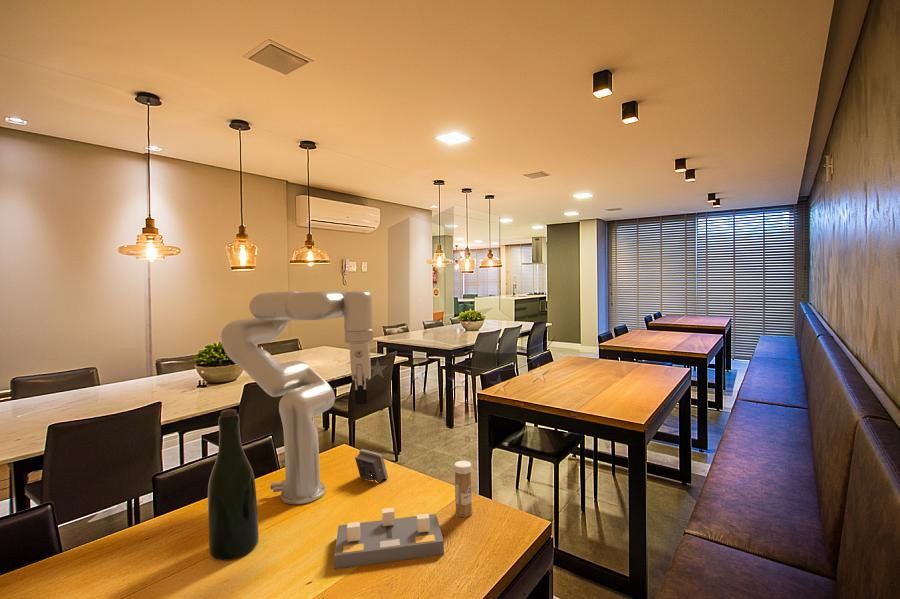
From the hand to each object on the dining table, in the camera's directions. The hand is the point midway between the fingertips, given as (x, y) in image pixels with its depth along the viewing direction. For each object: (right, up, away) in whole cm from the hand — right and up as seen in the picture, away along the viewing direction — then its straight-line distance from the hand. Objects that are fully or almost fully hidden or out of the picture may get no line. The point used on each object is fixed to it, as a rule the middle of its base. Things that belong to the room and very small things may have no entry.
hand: (361, 403), depth 118 cm
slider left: (+2, -26, -19) cm, 33 cm away
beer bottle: (-27, -31, -16) cm, 44 cm away
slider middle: (+9, -26, -13) cm, 31 cm away
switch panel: (+10, -30, -17) cm, 35 cm away
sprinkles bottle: (+28, -29, -3) cm, 40 cm away
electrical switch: (0, -29, +18) cm, 34 cm away
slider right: (+18, -26, -16) cm, 36 cm away
